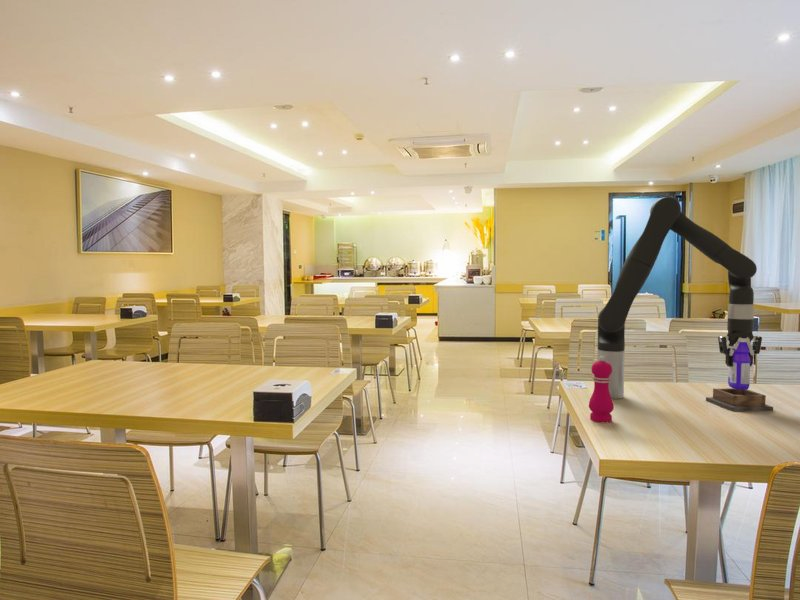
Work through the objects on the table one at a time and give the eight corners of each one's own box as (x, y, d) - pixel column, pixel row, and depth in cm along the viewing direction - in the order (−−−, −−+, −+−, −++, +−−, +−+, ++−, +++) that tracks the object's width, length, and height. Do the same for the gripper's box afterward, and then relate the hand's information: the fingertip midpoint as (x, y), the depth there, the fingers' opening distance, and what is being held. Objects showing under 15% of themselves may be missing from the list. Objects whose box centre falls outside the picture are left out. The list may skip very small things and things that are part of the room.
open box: (731, 410, 174) (731, 396, 173) (705, 400, 188) (706, 387, 187) (773, 410, 174) (773, 396, 174) (744, 400, 188) (744, 387, 188)
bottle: (752, 390, 176) (754, 339, 175) (733, 390, 177) (735, 338, 177) (743, 386, 183) (744, 336, 182) (725, 385, 185) (726, 336, 184)
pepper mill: (601, 415, 168) (602, 353, 167) (618, 421, 162) (619, 357, 161) (583, 418, 166) (584, 355, 165) (599, 424, 159) (601, 358, 158)
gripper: (726, 318, 175) (725, 368, 176) (769, 318, 176) (767, 368, 176) (712, 316, 183) (711, 364, 184) (753, 316, 183) (752, 364, 184)
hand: (739, 366), depth 180 cm, fingers closed on bottle, 6 cm apart
